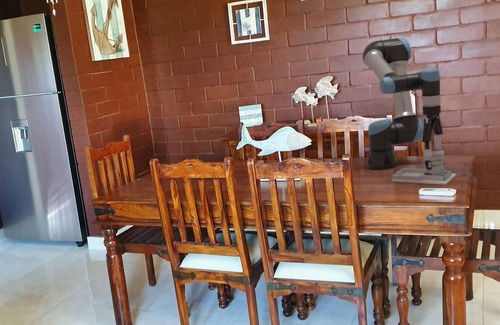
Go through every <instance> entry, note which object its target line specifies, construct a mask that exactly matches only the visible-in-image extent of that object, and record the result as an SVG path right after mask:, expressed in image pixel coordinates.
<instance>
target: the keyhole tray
mask: <svg viewBox="0 0 500 325" xmlns="http://www.w3.org/2000/svg"><path fill="white" fill-rule="evenodd" d="M456 176H457V173H452V170H451V171H450V170H445V175H444V176H436V175H424V168H415V167H414V168H412V167H402V168H401V169H400V170H398V171H396V172H395V173H393V174H392V175H391V180H390V182H392V183H394V182H395V183H406V184H407V183H411V184H428V185H429V184H430V185H445V186H446V185H447V184H448V183H449V182H451V180H453V178H455V177H456Z"/></svg>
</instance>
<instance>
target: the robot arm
mask: <svg viewBox="0 0 500 325" xmlns="http://www.w3.org/2000/svg"><path fill="white" fill-rule="evenodd" d="M411 58H412V48H411V44H410V42H409V41H408V40H407V39H406V38H404V37H395V38H389V39H388V38H387V39H381V40H375V41H372V42H370V43H369V44H368V45H366V47H365V48H364V50H363V51H362V60H363V64H364V65H366V67H368V68H370V69H371V71H373V73H374V75H375V76H376V78H378V80H379V89H380V93H382V94H384V95H391V94H392V100H393V105H394V106H393V107H394V111H395V112H394V113H395V115H394V117H393V118H392V119H393V121H392V120H391V119H386V118H385V119H380V120H376V121H373V122H371V123H369V125H368V129H367V130H368V132H367V135H368V146H369V154H368V159H367V164H366V166H367V169H369V170H375V171H377V170H378V171H381V170H382V171H384V170H391V169H396V168H397V167H398V166H399V163H398V162H399V161H398V159H397V156H396V154H395V152H394V146H395V145H396V146H397V145H403V144H404V145H405V144H412V143H417V142H419V141H420V140H421V142H422V143H424V144H423V145H424V152H425V156H429V157H431V156H432V152H431V151H432V141H431V138H432V134H433V133H434V136H433V138H434V141H433V142H434V149H435V150H442V135H443V134H444V132H443V127H442V122H441V118H440V116H441V115H440V114H441V112H442V107H441V100H442V99H441V75H440V69H438V68H425V69H424V68H423V69H422V70H421V71H419V72H418V71H416V72H415V73H414V72H413V73H409V74H408V70H407V65H408V64H409V60H410V59H411ZM420 90H421V98H420V99H421V101H422V103H421V104H422V108H421V110H422V115H424V116H426V118H424V119H423V121H422V119H421V118H419V117H418V115H417V114H416V113H415V112H414V110H413V103H412V96H411V92H414V91H420Z"/></svg>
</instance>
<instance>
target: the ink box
mask: <svg viewBox="0 0 500 325" xmlns="http://www.w3.org/2000/svg"><path fill="white" fill-rule="evenodd" d="M431 152H432V156H431V157H429V156H425V151H424V152H423V169H424V175H436V176H444V175H445V171H446V166H445V165H446V164H445V150H431Z"/></svg>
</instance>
